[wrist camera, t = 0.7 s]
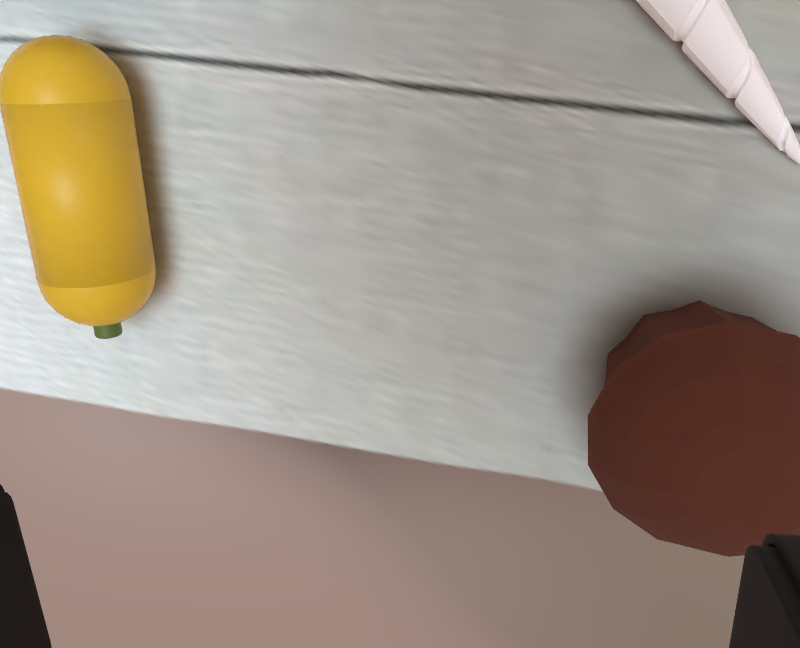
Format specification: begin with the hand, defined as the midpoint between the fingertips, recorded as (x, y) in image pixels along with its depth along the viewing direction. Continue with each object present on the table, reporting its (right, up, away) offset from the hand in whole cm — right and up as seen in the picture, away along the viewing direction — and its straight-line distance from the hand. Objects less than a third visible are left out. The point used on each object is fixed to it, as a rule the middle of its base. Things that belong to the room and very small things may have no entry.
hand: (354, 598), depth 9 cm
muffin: (+16, +1, +28) cm, 32 cm away
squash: (-15, +11, +29) cm, 34 cm away
